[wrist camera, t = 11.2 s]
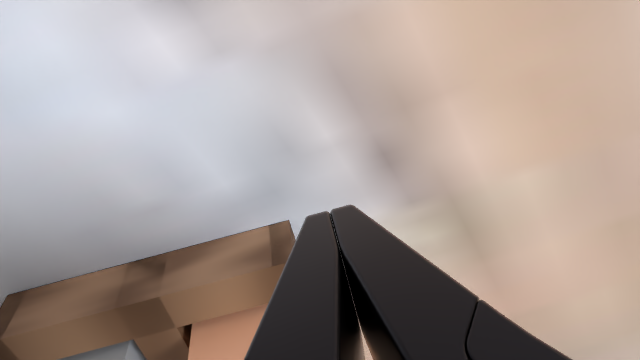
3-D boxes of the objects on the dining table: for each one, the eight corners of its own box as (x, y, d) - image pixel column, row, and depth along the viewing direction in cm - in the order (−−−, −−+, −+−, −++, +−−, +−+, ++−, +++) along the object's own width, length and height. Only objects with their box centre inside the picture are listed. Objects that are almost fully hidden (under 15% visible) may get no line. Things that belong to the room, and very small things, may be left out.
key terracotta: (274, 287, 23) (279, 355, 20) (295, 341, 25) (303, 411, 22) (194, 309, 23) (185, 381, 20) (221, 361, 25) (217, 434, 22)
